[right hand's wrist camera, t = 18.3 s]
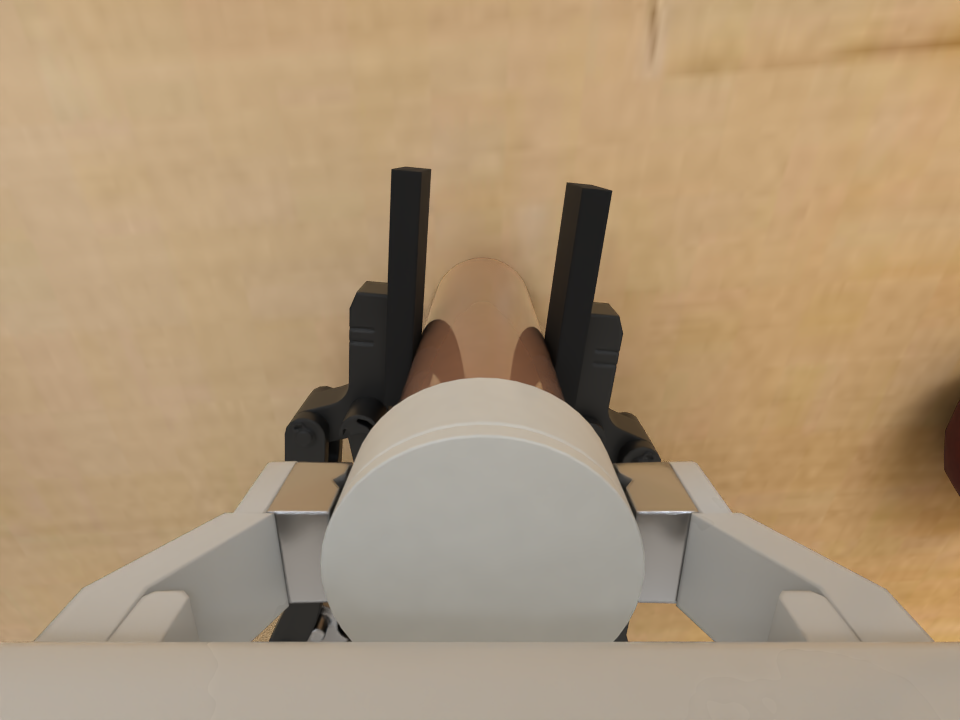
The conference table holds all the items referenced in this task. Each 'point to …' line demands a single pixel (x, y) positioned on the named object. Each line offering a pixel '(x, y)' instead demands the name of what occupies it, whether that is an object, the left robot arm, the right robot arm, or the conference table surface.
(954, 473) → the dark brown oval lump
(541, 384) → the tan cylinder
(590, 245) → the left robot arm
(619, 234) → the conference table surface
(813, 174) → the conference table surface
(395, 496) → the lid
